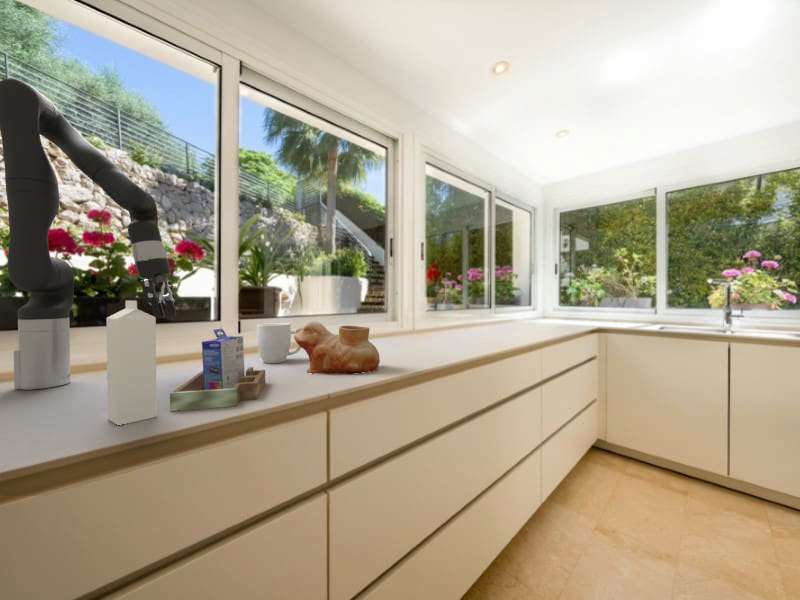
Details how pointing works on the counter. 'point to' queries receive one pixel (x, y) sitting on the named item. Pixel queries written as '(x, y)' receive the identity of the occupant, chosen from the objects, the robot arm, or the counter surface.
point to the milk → (131, 365)
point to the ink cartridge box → (222, 361)
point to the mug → (274, 342)
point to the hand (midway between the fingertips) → (166, 317)
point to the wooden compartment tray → (216, 392)
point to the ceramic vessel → (337, 349)
